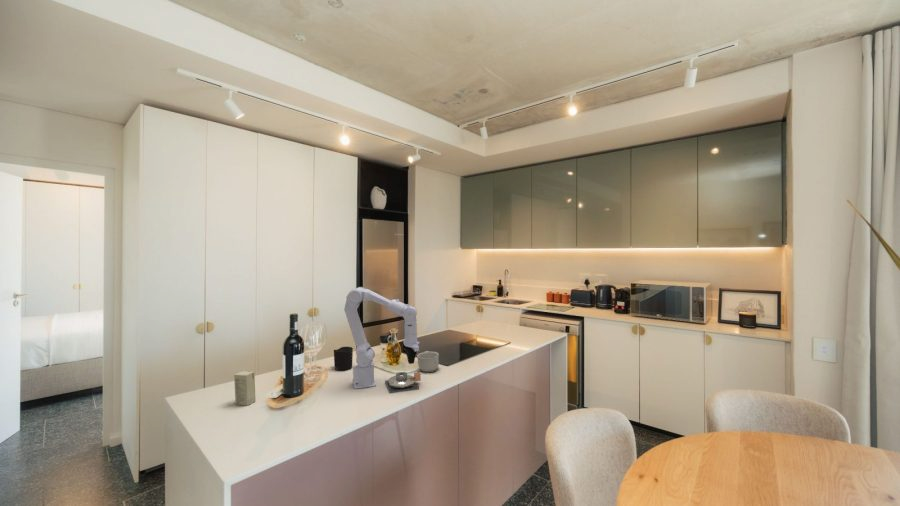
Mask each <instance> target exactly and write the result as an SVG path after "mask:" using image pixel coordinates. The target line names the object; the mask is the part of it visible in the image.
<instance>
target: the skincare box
mask: <svg viewBox="0 0 900 506" xmlns="http://www.w3.org/2000/svg"><path fill="white" fill-rule="evenodd" d="M233 379H234V380H233V381H234V396H235V398H234V399H235V400H234V401H235V405H237V404H238V405H239V406H249V405H252V404H253V403H256V401H257V398H256V381H255V379H256V378H255V372H254V371H246V370H242V371H240V372H237V373H235V374H234V375H233Z"/></svg>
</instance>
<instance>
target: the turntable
mask: <svg viewBox="0 0 900 506" xmlns="http://www.w3.org/2000/svg"><path fill="white" fill-rule="evenodd" d="M387 380H388V381H387V385H389V386H391V387H396V388H403V387H408V386H411V385H413V384H414V383H415V382H419V381H422V380H421V372H420V371H417V372H414V373H413V375H410V374H407V380H406V381H404V382H398V381H396V375H393V376H391V377H389V378H388V379H387Z"/></svg>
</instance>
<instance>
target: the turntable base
mask: <svg viewBox="0 0 900 506" xmlns="http://www.w3.org/2000/svg"><path fill="white" fill-rule="evenodd" d="M387 381H388V379H386V380H384V383H385V386H386V388H387V391H388V393H389V394H394V393H401V392H409V391H417V390H420V387H419V384H418V383H417V381H415V383H414V384H413V385H411V386H408V387H403V388H396V387H391V386H389V385H387Z"/></svg>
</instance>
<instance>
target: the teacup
mask: <svg viewBox="0 0 900 506" xmlns="http://www.w3.org/2000/svg"><path fill="white" fill-rule="evenodd" d="M439 355H440V354H439V352H437V351H428V350H425V351H423V352H420V353H418V354H416V357H417V358H416V359H417V366H418V368H419V370H420V371H422V372H425V373H431V372H435V371H436V370H437V368H439V364H440V363H439V361H440V360H439Z"/></svg>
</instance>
